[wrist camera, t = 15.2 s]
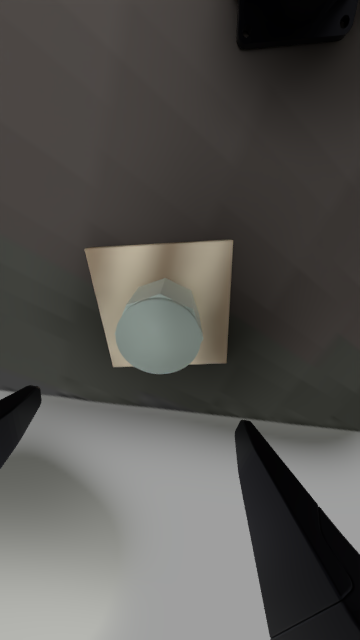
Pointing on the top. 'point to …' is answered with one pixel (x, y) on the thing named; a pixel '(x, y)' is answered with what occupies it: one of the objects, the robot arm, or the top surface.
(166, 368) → the cap
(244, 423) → the robot arm
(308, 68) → the top surface
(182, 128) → the top surface
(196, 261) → the holder
